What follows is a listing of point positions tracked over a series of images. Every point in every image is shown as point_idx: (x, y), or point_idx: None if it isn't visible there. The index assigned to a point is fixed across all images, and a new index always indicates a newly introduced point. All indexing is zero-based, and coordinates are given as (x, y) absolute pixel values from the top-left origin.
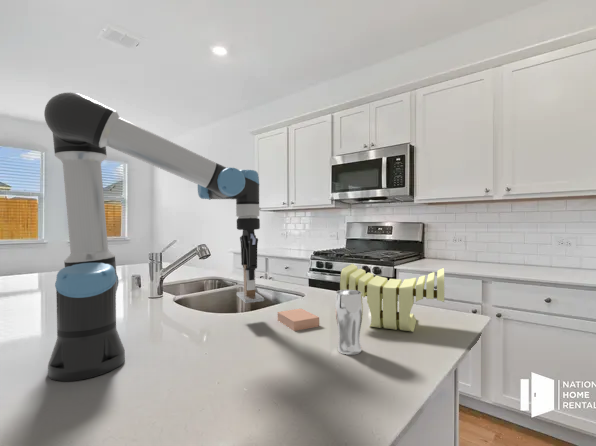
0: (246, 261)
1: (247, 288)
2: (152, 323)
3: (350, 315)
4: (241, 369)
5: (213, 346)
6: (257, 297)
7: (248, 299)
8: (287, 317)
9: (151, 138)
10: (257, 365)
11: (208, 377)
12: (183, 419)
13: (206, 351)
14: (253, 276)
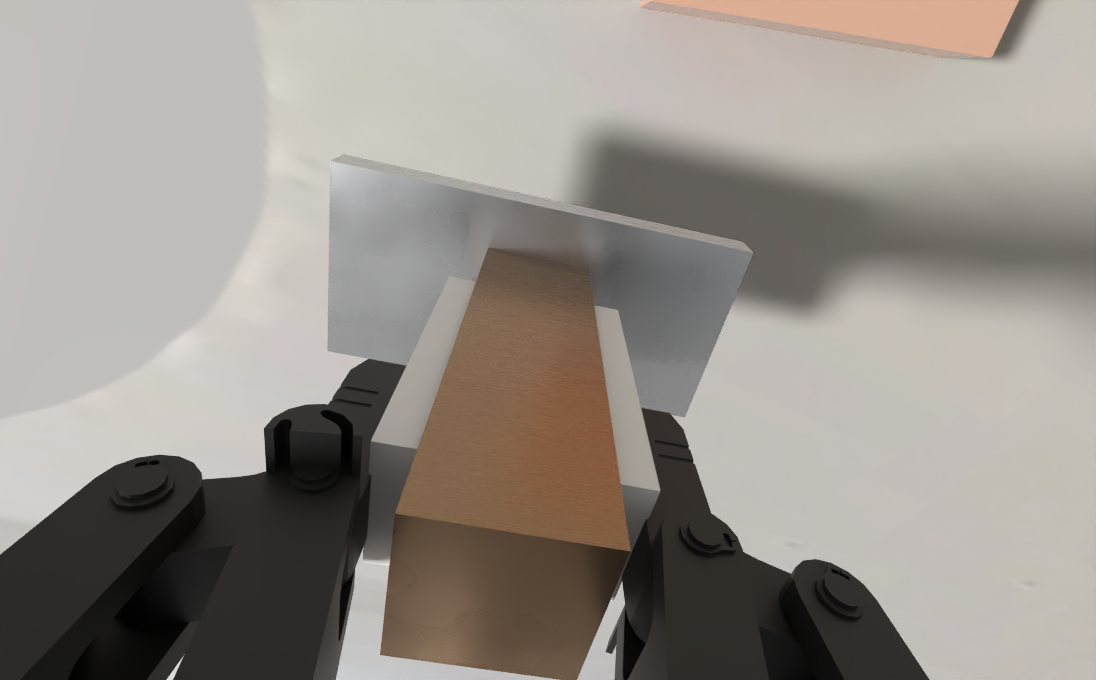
0: (328, 668)
1: None
2: None
3: None
4: (1031, 511)
5: (749, 507)
6: (686, 296)
7: (691, 393)
8: (861, 29)
9: None
10: (1067, 462)
11: (971, 591)
12: (1088, 671)
13: (776, 539)
14: (685, 459)
